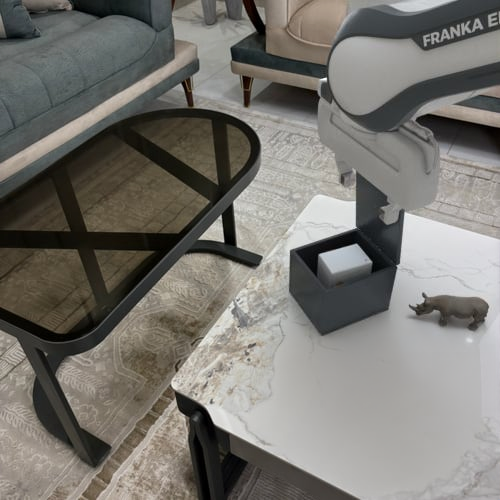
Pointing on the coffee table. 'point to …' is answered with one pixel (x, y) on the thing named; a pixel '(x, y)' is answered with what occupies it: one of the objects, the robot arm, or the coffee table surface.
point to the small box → (342, 266)
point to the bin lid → (377, 219)
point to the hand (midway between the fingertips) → (366, 201)
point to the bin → (345, 295)
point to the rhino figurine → (454, 308)
